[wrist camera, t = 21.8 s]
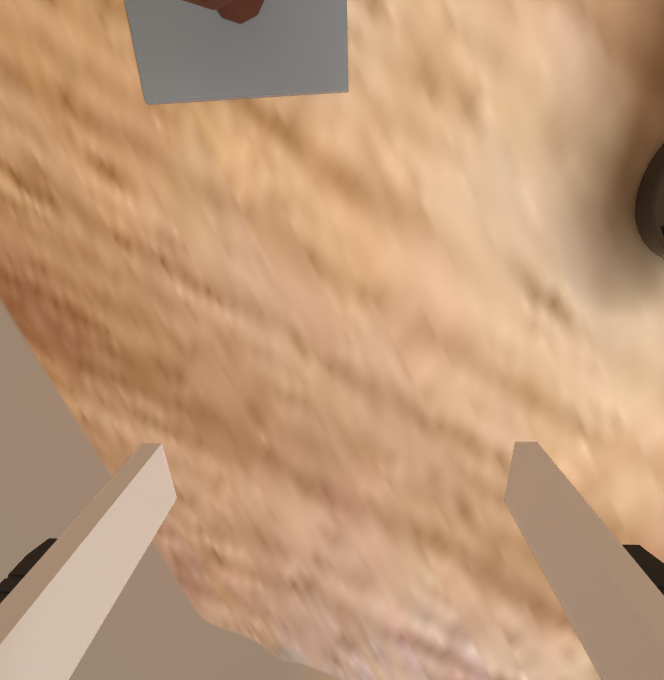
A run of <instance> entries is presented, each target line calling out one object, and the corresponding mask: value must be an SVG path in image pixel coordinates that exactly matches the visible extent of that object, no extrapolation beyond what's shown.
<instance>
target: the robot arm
mask: <svg viewBox="0 0 664 680" xmlns="http://www.w3.org/2000/svg"><path fill="white" fill-rule="evenodd" d="M636 219H637V225H638V229H639V232H640V234H641V237H642V239H643V240H644V242H645V243H646V245H647V246H648V247H649V248H650V249H651V250H652V251H653V252H654V253H656V254H657V255H659V256H661V257H663V258H664V145H663V146H662V147H661V149H660V150H659V151H658V153H657V154H656V156H655V157H654V159H653V160H652V162H651V163H650V165H649V167H648V169H647V171H646V173H645V175H644V177H643V180H642V183H641V185H640V189H639V192H638V197H637V204H636ZM176 499H177V497H176V493H175V490H174V486H173V482H172V479H171V475H170V471H169V468H168V464H167V460H166V457H165V453H164V449H163V446H162V443H142V445H141V446H140V447H139V448H138V449H137V450H136V451H135V452H134V454H133V455H132V456H131V457H130V458H129V459H128V460H127V462H126V463H125V464H124V465H123V466H122V467H121V468H120V469H119V471H118V472H117V473H116V474H115V475H114V476H113V477H112V478H111V480H110V481H109V482H108V483H107V484H106V485H105V486H104V487H103V489H102V490H101V491H100V492H99V493H98V494H97V495H96V497H95V498H94V499H93V500H92V501H91V502H90V503H89V504H88V505H87V507H86V508H85V509H84V510H83V511H82V512H81V513H80V514H79V516H78V517H77V518H76V519H75V520H74V521H73V522H72V523H71V525H70V526H69V527H68V528H67V529H66V530H65V532H64V533H63V534H62V535H61V536H60V537H59V538H58V539H52V538H51V539H50V538H49V539H48V540H46V541H45V542H44V543H42V544H41V545H40V546H38V547H37V548H36V549H34V550H33V551H32V552H30V553H29V554H28V555H26V556H25V557H24V559H23V560H22V561H21V562H20V563H19V564H18V565H17V566H16V567H15V568H14V569H13V570H12V571H11V572H10V573H9V575H8V578H7V579H4V580H3V581H2V582H1V583H0V680H69V678H70V676H71V675H72V673H73V671H74V670H75V668H76V666H77V665H78V663H79V661H80V660H81V658H82V656H83V655H84V653H85V651H86V649H87V648H88V646H89V645H90V643H91V641H92V639H93V638H94V636H95V634H96V633H97V631H98V629H99V628H100V626H101V624H102V623H103V621H104V619H105V618H106V616H107V614H108V613H109V611H110V609H111V608H112V606H113V604H114V603H115V601H116V599H117V598H118V596H119V594H120V593H121V591H122V589H123V588H124V586H125V584H126V583H127V581H128V579H129V578H130V576H131V574H132V572H133V571H134V569H135V568H136V566H137V564H138V563H139V561H140V559H141V557H142V556H143V554H144V552H145V551H146V549H147V547H148V546H149V544H150V542H151V541H152V539H153V537H154V536H155V534H156V532H157V531H158V529H159V527H160V526H161V524H162V522H163V521H164V519H165V517H166V516H167V514H168V512H169V511H170V509H171V507H172V506H173V504H174V502H175V501H176ZM504 501H505V503H506V505H507V507H508V509H509V510H510V512H511V514H512V516H513V518H514V520H515V521H516V523H517V525H518V527H519V529H520V531H521V532H522V534H523V536H524V538H525V540H526V542H527V544H528V545H529V547H530V549H531V551H532V553H533V555H534V556H535V558H536V560H537V562H538V564H539V566H540V568H541V569H542V571H543V573H544V575H545V577H546V579H547V580H548V582H549V584H550V586H551V588H552V590H553V592H554V593H555V595H556V597H557V599H558V601H559V603H560V604H561V606H562V608H563V610H564V612H565V614H566V616H567V617H568V619H569V621H570V623H571V625H572V627H573V628H574V630H575V632H576V634H577V636H578V638H579V640H580V641H581V643H582V645H583V647H584V649H585V651H586V652H587V654H588V656H589V658H590V660H591V662H592V663H593V665H594V667H595V669H596V671H597V673H598V675H599V676H600V678H601V680H664V563H662V562H661V561H660V560H658V559H657V558H656V557H654V556H653V555H652V554H650V553H649V552H648V551H646V550H645V549H644V548H643V547H641V546H640V545H622V544H621V543H620V542H619V541H618V540H617V538H616V537H615V536H614V535H613V533H612V532H611V531H610V530H609V529H608V527H607V526H606V525H605V524H604V523H603V521H602V520H601V519H600V518H599V516H598V515H597V514H596V513H595V512H594V510H593V509H592V508H591V507H590V506H589V504H588V503H587V502H586V501H585V499H584V498H583V497H582V496H581V495H580V493H579V492H578V491H577V490H576V489H575V487H574V486H573V485H572V484H571V482H570V481H569V480H568V479H567V478H566V476H565V475H564V474H563V473H562V472H561V470H560V469H559V468H558V467H557V465H556V464H555V463H554V462H553V461H552V459H551V458H550V457H549V456H548V455H547V453H546V452H545V451H544V450H543V448H542V447H541V446H540V445H539V444H538V442H515V445H514V451H513V456H512V461H511V466H510V471H509V477H508V482H507V487H506V492H505V497H504Z"/></svg>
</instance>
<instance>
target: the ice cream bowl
mask: <svg viewBox="0 0 664 680" xmlns="http://www.w3.org/2000/svg"><path fill="white" fill-rule="evenodd" d="M183 1H186V2H189V3H192V4H195V5H198V6H202V7H205V8H208V9H211V10H217V12H218V13H219V14H220V16H221V17H222V18H223V19H226V20H229V21H232V22H235V23H238V24H242V23H244V22H246V21H248V20H250V19H252V18H254V17H256V16H257V15H258V14H259V11H260V9H261V7H262V5H263V2H264V0H183Z"/></svg>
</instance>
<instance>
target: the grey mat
mask: <svg viewBox="0 0 664 680" xmlns="http://www.w3.org/2000/svg"><path fill="white" fill-rule="evenodd" d="M124 1H125V6H126V11H127V16H128V20H129V25H130V30H131V35H132V40H133V45H134V50H135V55H136V60H137V65H138V70H139V74H140V79H141V84H142V89H143V94H144V99H145V103H147V104H148V105H151V104H167V103H183V102H199V101H214V100H230V99H246V98H262V97H278V96H293V95H309V94H325V93H341V92H348V48H347V0H264V2H263V5H262V7H261V9H260V11H259V14H258V15H257V16H256V17H254V18H252V19H250V20H248V21H246V22H244V23H242V24H238V23H235V22H232V21H229V20H226V19H223V18H222V17H221V16H220V14H219V13H218V12H217V10H211V9H208V8H205V7H202V6H198V5H195V4H192V3H189V2H186V1H183V0H124Z"/></svg>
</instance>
